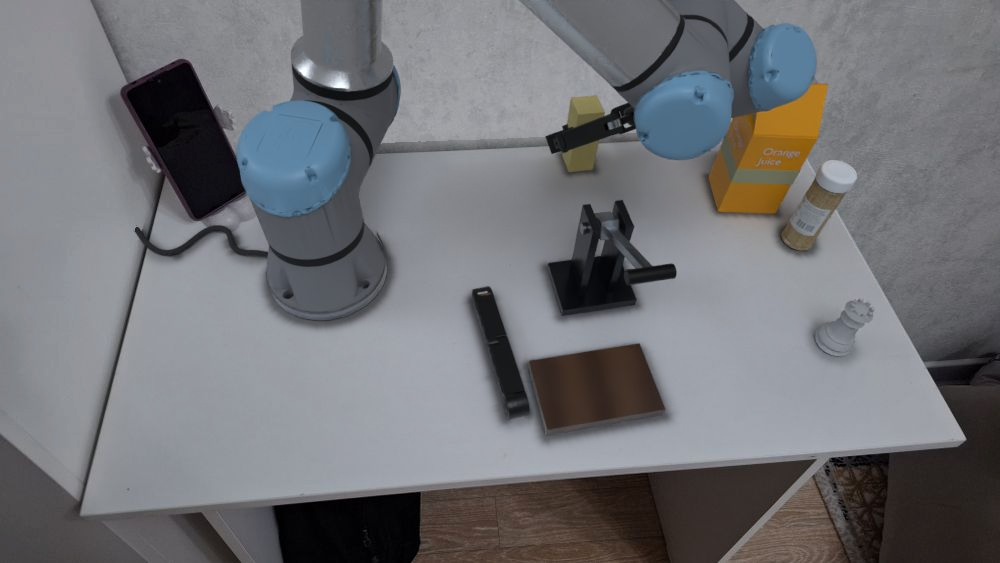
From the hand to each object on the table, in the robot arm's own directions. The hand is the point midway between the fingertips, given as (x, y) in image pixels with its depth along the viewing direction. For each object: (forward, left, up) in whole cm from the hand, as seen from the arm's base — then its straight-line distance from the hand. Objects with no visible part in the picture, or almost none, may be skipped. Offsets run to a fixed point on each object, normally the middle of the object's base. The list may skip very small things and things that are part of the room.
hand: (587, 129), depth 92 cm
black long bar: (-20, -32, -7) cm, 38 cm away
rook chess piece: (+23, -37, -7) cm, 44 cm away
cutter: (-5, -23, -7) cm, 25 cm away
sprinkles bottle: (+27, -20, -7) cm, 34 cm away
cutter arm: (-5, -30, +6) cm, 31 cm away
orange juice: (+23, -10, -7) cm, 26 cm away
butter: (0, +1, -7) cm, 7 cm away
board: (-9, -38, -7) cm, 40 cm away
